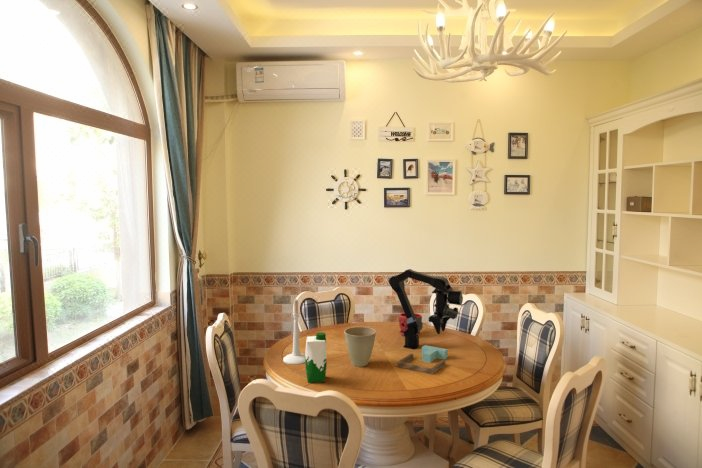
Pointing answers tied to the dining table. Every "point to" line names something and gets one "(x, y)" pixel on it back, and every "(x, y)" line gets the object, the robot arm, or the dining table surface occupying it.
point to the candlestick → (295, 342)
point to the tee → (433, 353)
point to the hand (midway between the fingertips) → (440, 332)
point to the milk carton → (316, 358)
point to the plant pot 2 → (405, 322)
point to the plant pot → (360, 344)
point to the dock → (406, 365)
